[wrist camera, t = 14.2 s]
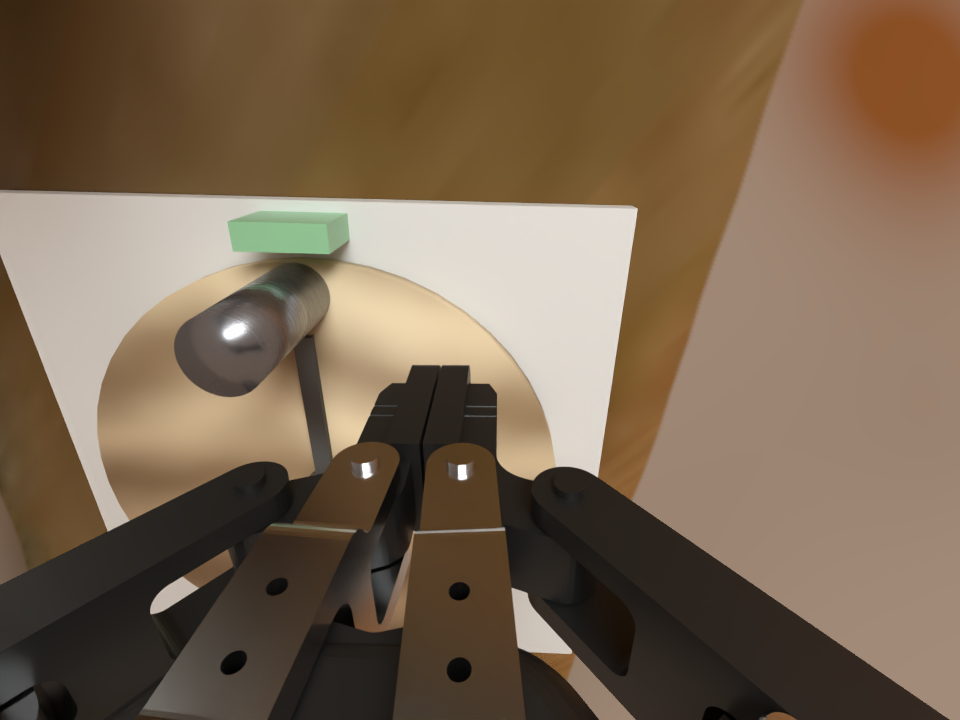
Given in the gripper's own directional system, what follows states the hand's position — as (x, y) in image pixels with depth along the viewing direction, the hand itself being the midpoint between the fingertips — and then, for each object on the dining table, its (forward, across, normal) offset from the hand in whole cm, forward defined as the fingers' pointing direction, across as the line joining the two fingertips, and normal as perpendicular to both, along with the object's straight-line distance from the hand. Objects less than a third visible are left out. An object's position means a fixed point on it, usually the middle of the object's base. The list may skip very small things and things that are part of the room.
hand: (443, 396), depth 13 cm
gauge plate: (+12, +8, +12) cm, 19 cm away
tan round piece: (+11, +8, +12) cm, 18 cm away
